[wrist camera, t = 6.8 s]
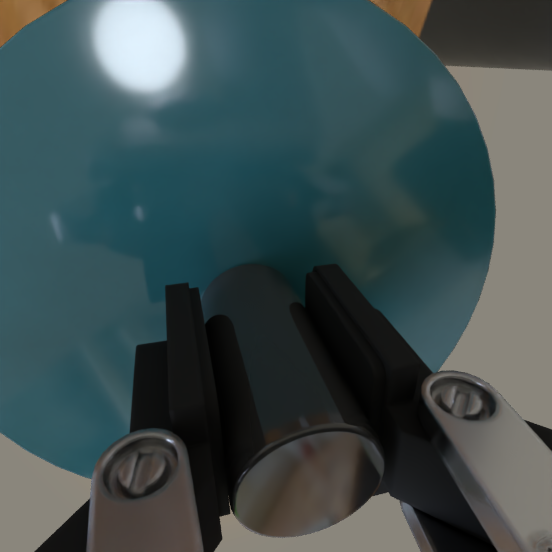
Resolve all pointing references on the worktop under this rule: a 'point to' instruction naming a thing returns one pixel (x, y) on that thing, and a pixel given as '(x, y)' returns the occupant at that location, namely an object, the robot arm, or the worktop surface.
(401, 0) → the worktop surface
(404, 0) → the worktop surface
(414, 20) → the worktop surface
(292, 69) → the lid
